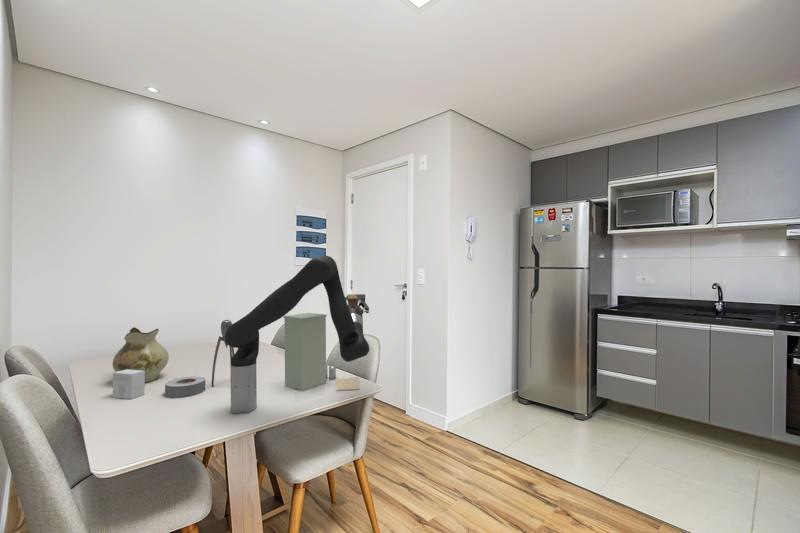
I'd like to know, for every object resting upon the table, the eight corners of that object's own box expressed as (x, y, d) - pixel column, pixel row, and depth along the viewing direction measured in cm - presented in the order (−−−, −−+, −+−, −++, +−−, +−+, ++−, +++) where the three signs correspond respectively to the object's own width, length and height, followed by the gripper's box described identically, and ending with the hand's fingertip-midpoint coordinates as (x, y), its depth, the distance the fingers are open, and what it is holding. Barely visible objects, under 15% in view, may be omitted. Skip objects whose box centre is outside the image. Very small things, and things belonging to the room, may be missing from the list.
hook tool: (368, 306, 158) (368, 298, 158) (348, 306, 157) (348, 298, 157) (364, 301, 184) (364, 294, 184) (347, 301, 182) (347, 294, 182)
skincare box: (145, 394, 162) (145, 370, 162) (131, 399, 156) (131, 374, 156) (126, 392, 165) (126, 368, 165) (112, 397, 158) (111, 372, 158)
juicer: (211, 386, 172) (210, 320, 171) (232, 380, 181) (231, 317, 181) (225, 390, 167) (225, 322, 167) (246, 383, 177) (246, 319, 177)
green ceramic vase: (148, 387, 171) (148, 332, 171) (97, 387, 172) (97, 332, 172) (178, 373, 194) (178, 325, 194) (133, 374, 194) (132, 325, 194)
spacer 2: (335, 379, 181) (335, 367, 181) (329, 379, 181) (328, 367, 181) (335, 377, 185) (335, 365, 185) (329, 377, 184) (329, 365, 184)
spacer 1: (327, 378, 183) (327, 366, 183) (320, 379, 182) (320, 366, 182) (327, 376, 186) (327, 364, 186) (321, 377, 185) (320, 365, 185)
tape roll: (193, 385, 175) (192, 374, 175) (212, 390, 167) (212, 378, 167) (157, 394, 162) (157, 382, 162) (177, 401, 154) (177, 388, 154)
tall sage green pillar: (327, 382, 176) (326, 314, 176) (302, 391, 164) (301, 318, 164) (309, 378, 184) (308, 312, 183) (283, 386, 172) (283, 316, 172)
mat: (359, 389, 166) (359, 388, 166) (336, 391, 164) (336, 389, 164) (357, 379, 182) (357, 377, 182) (336, 380, 180) (336, 379, 180)
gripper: (371, 313, 150) (368, 290, 165) (335, 314, 148) (336, 290, 163) (370, 328, 154) (368, 304, 169) (335, 329, 152) (336, 304, 167)
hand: (352, 297), depth 166 cm, fingers closed on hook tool, 4 cm apart
